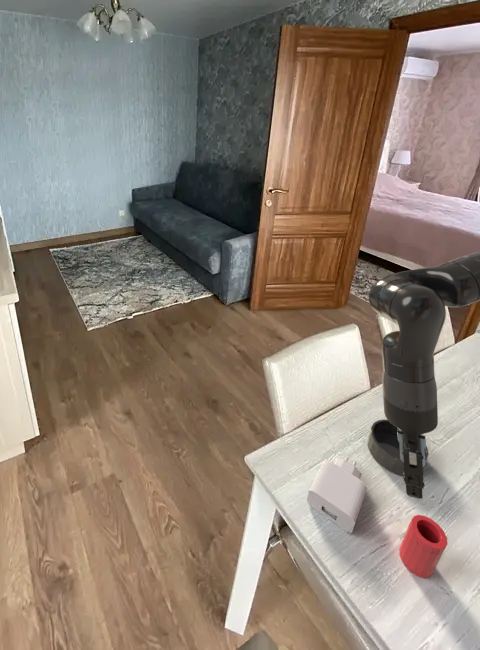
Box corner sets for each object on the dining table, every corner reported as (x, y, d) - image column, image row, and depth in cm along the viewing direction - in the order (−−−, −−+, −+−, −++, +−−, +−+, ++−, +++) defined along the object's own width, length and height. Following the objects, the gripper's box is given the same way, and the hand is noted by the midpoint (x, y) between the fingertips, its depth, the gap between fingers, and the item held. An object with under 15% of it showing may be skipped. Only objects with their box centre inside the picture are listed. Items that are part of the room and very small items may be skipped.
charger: (370, 479, 80) (351, 535, 69) (329, 454, 85) (306, 503, 75) (375, 465, 78) (355, 520, 67) (333, 440, 84) (309, 488, 73)
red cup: (424, 546, 68) (437, 517, 64) (438, 581, 63) (454, 552, 59) (394, 540, 68) (406, 512, 65) (406, 574, 64) (419, 545, 60)
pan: (409, 435, 90) (414, 423, 89) (433, 481, 79) (438, 468, 78) (360, 428, 92) (364, 416, 91) (377, 472, 81) (381, 459, 80)
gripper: (442, 430, 49) (445, 520, 53) (432, 373, 61) (434, 450, 64) (382, 418, 53) (387, 502, 57) (383, 367, 65) (387, 439, 68)
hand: (412, 474), depth 61 cm, fingers open, 8 cm apart
